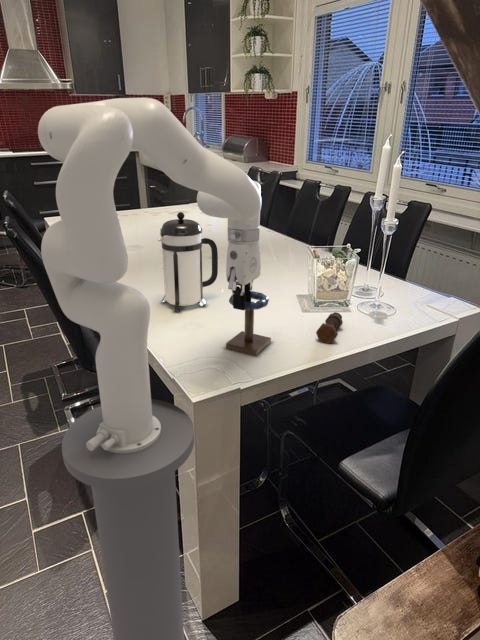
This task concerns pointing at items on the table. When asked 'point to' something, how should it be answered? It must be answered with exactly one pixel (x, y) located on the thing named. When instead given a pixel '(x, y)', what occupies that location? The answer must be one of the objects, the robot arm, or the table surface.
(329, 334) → the bolt
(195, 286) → the coffee press
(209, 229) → the table surface
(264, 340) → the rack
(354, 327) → the table surface
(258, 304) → the ring
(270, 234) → the table surface
